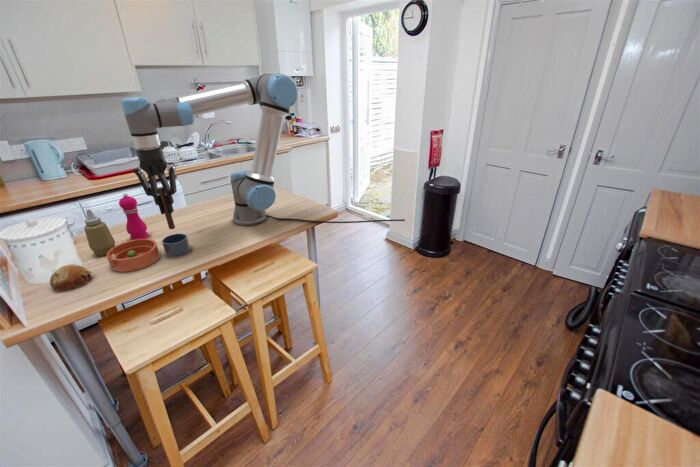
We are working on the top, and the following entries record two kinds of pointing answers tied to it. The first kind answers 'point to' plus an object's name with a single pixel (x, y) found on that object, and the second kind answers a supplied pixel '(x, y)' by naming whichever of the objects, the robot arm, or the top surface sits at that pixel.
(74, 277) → the bread roll
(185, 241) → the utensil pot
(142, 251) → the bowl
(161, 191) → the stick
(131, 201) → the pepper mill
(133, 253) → the bead
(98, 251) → the squeeze bottle
